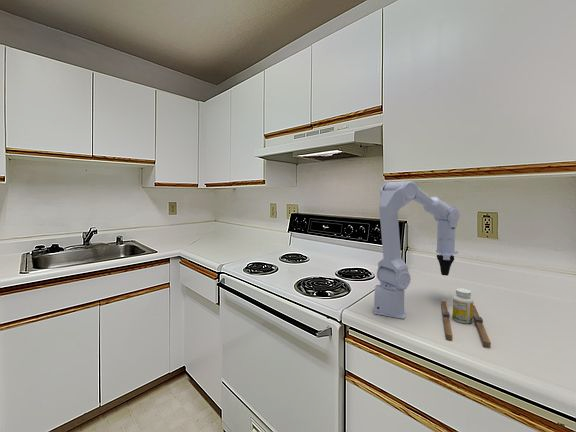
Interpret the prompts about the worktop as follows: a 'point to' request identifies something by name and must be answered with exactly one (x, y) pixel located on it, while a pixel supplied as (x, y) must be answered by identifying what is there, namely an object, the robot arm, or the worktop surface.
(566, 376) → the worktop surface
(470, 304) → the supplement bottle
